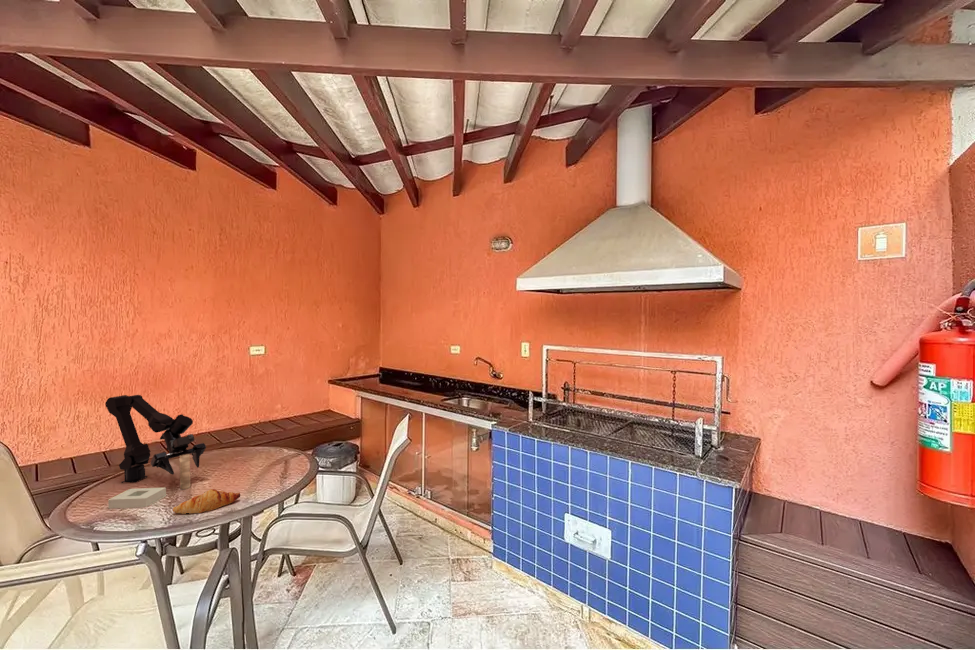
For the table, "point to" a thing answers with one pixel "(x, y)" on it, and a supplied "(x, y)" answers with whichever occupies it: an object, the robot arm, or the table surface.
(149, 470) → the table surface
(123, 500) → the socket block
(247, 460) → the table surface
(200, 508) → the croissant
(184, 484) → the peg
